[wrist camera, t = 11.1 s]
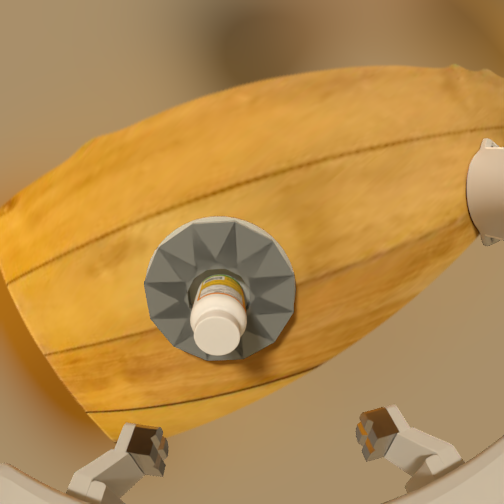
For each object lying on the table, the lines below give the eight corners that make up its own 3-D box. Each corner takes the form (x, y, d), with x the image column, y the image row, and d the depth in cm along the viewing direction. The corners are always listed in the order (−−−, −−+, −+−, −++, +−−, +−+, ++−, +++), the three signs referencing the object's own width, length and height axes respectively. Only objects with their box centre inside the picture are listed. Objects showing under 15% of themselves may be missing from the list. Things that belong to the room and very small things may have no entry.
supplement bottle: (227, 322, 32) (226, 371, 23) (189, 299, 31) (174, 343, 22) (252, 288, 32) (261, 329, 22) (213, 263, 31) (205, 297, 21)
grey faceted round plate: (293, 212, 31) (298, 214, 28) (292, 348, 35) (296, 357, 33) (138, 221, 30) (132, 224, 27) (160, 354, 34) (157, 363, 32)
